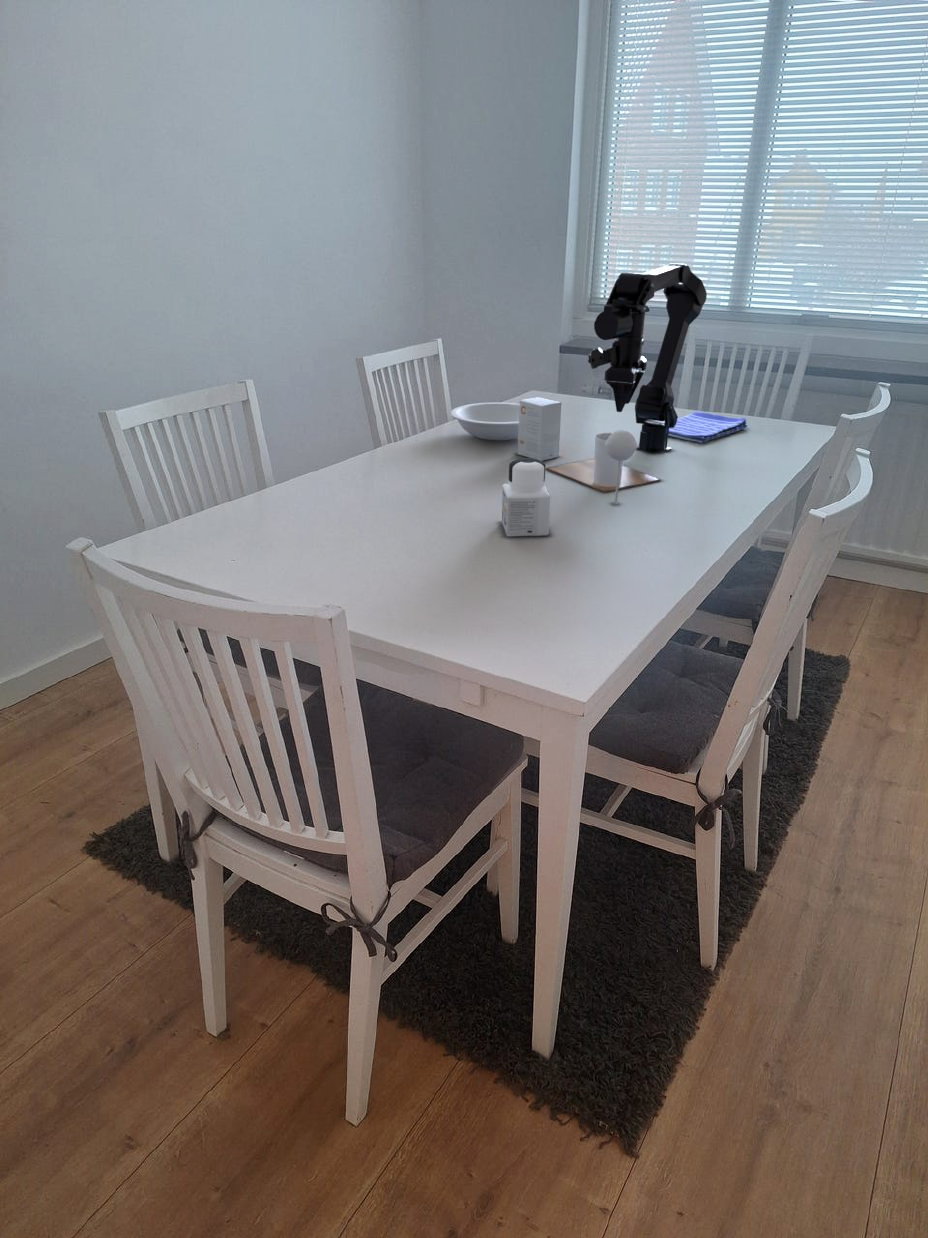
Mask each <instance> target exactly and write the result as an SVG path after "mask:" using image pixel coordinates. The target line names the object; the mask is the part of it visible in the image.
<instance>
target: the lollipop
mask: <svg viewBox="0 0 928 1238" xmlns="http://www.w3.org/2000/svg"><path fill="white" fill-rule="evenodd" d="M611 433H612V434H611V435H610V436H609V437H608V439H607V440H606V443H605V446H606V450H607V452H608V454H609V456H610V457H611V458H613V459H615V460H618V461H619V462H618V472H617V483H616V490H615V492H614V493H615V497H614V506H617V505H618V496H619V490H618V486H619V476H620V466H621V461H627V460H629V459H630V458H632V457H633V456H634V454H635V453H636V450H637V445H638V441H637V439H636V437H635V436H634V434H633V433H631V432H630V431H628V430H625V429H618V430H616V431H614V432H611Z"/></svg>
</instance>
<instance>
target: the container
mask: <svg viewBox="0 0 928 1238" xmlns="http://www.w3.org/2000/svg"><path fill="white" fill-rule="evenodd" d="M546 466H547V465H546V463H545V462H544V461H540V460H538V459H534V458H529V457H520V458H519V457H518V458H516V459H513V460H511V461H510V462H509V465H508V483H503V484H502V498H501V499H502V500H501V501H502V502H501V524H502V526H503V530H504V532H505V535H506V537H508V538H509V537H543V536H545V537H547V536H549V534H550V533H549V532H550V516H551V515H550V514H551V499H552V498H551V494H550V493H549V490H548V489H547V487H546V485H545V484H546V483H545V482H546V468H547V467H546Z"/></svg>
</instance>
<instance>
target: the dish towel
mask: <svg viewBox="0 0 928 1238" xmlns="http://www.w3.org/2000/svg"><path fill="white" fill-rule="evenodd" d="M746 428H748V425H747V419H746V418H745V417H743V418H735V417H728V416H724V415H720V414H719V415H718V414H712V413H707V412H702V411H693V412H692V413H690V414H687V415H684V416H682V417H678V419H677V423H676V425H675V427H674V428H669V434H668V437H672V438H676V439H681V440H685V441H690V442H695V443H698V444H703V443H705V442H709V441H712V440H714V439H718V438H722V437H724V436H727V435H730V434H733V433H736V432H739V431H741V430H744V429H746Z"/></svg>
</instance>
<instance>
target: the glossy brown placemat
mask: <svg viewBox="0 0 928 1238" xmlns="http://www.w3.org/2000/svg"><path fill="white" fill-rule="evenodd" d="M546 470H547V471H551V472H553V473H555V474H558V475H560V476H562V477H565V478H567V479H570V480H572V481H575V482H577V483H579V484H581V485H584V486H587V487H590V488H591V489H594V490H597V491H599V492H601V493H604V494H605V493H609V492H614V491H616V486H614V487H604V486H599V485H596V484H594V458H591V459H585V460H579V461H574V462H569V463H564V464H558V465H552V466H547V467H546ZM657 482H661V479H660V478H658V477H655V476H652V475H650V474H646V473H644V472H642V471H638V470H636V469H633V468H630V467H627V466H624V465H623V469H622V476H621V483H620V485H619V486H618V491H619V490H624V489H628V488H629V489H630V488H634V487H637V486H642V485H647V484H652V483H657Z"/></svg>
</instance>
